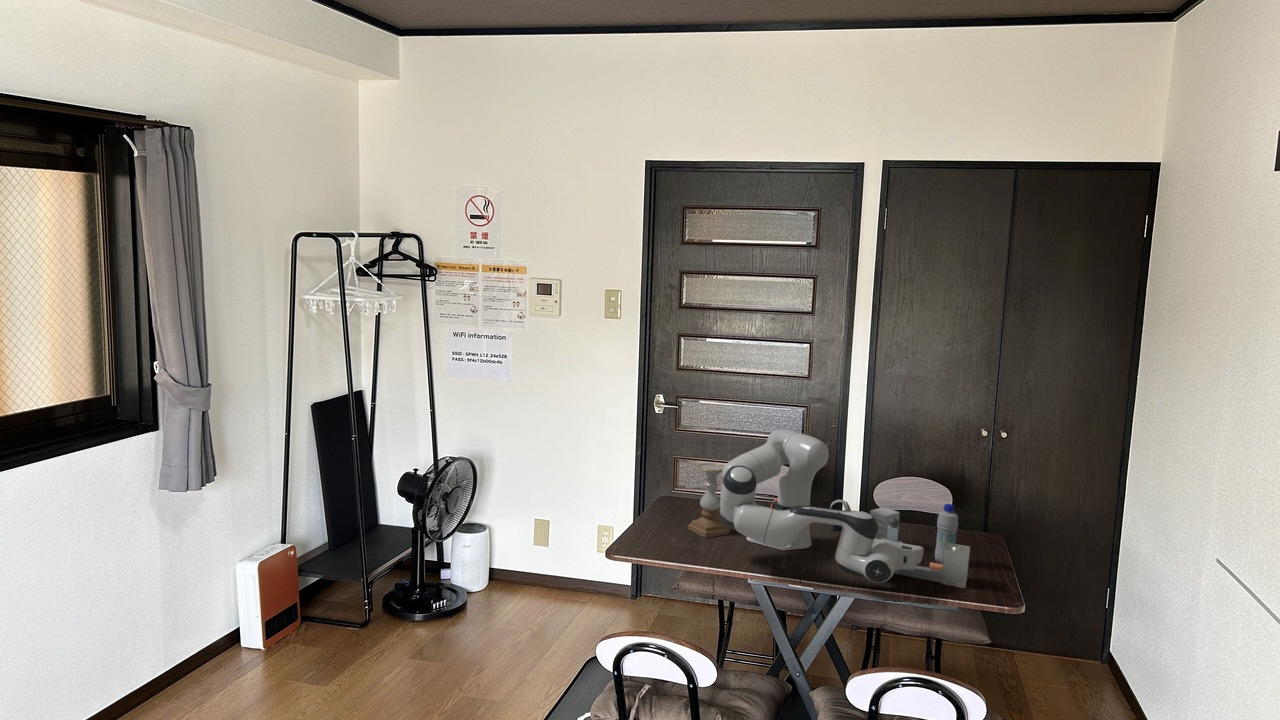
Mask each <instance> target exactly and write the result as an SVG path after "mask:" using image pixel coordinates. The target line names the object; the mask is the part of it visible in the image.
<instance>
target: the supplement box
mask: <svg viewBox="0 0 1280 720" xmlns="http://www.w3.org/2000/svg"><path fill="white" fill-rule="evenodd" d="M869 514H871V515H872V516H873V517H874V518H875V520H876V522H877V524H878V527H879V529H878V532H877V534H876V537H875V539H883V538H886V539H887V531H888V526H889V523H888V522H889V519H890V518H892V517H895V518H897V519H898V521H899V522H900V512H899V511H896V510H893V509H891V508H887V507H883V506H882V507H879V508H875V509H874V508H873V509H870V510H869ZM898 526H899V527H900V524H899V525H898Z"/></svg>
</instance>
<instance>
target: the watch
mask: <svg viewBox="0 0 1280 720" xmlns="http://www.w3.org/2000/svg"><path fill="white" fill-rule="evenodd" d="M837 503H841V504H843V505H842V506H843V508H844V510H845V511H852V509H851V506H850V505H849V503H848V502H847V501H846V500H844V499H836V500H834V501H832V502H831V504H830V507H829V509H833V506H834V505H835V504H837ZM832 526H833V528H832V531H833V532H836V531H838V533H841V532H842V526H839V525H832Z"/></svg>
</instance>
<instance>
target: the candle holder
mask: <svg viewBox="0 0 1280 720" xmlns="http://www.w3.org/2000/svg"><path fill="white" fill-rule="evenodd" d="M724 466H725V465H723V464H719V463H711V462H709V463H708V462H707V463H700V464H698V465H697V469H698V470H699V471H701V472H703V473H704V474H705V476H706V479H705V482H704V483H703V485H704V488H705V493H704V494H703V496H702V497H701V499H700V501H699V505H700V507H701V508H702V510H701V512H700V514H701V517H699V518H697V519H693V520H691V521H690V522H691V523H688V524H687V525H688V526H687V528H688V530H689V531H691V532H692V533H695V534H696V535H698V536H700V537H702V538H704V539H709V538H713V537H721V536H727V535H730V528H729V527H728V525H727V524H726V523H724V522H723V521H721V519H720V518H718V516H719V512H718V511H719V510H718V509H719V508H720V497H719V496H718V494H717V492H716V490H717V488H718V487H719V485H720V484H719V482H718V481H717V477H718V476H719V475H720V474H722V470H723V467H724Z"/></svg>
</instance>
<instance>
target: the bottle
mask: <svg viewBox="0 0 1280 720" xmlns="http://www.w3.org/2000/svg"><path fill="white" fill-rule="evenodd" d="M936 523H937V524H936V527H937V533H936V541H935V544H936V545H935V550H934V558H935V562H936V563H937V564H943V560H944V549H945V546H946V543H952V544H956V540H957V530H958V528H959V515H958V514H957V513H956V512H955V505H954V504H951V503H945V504H944V505H943V510H941V511H940V512H938V516H937V521H936Z"/></svg>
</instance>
